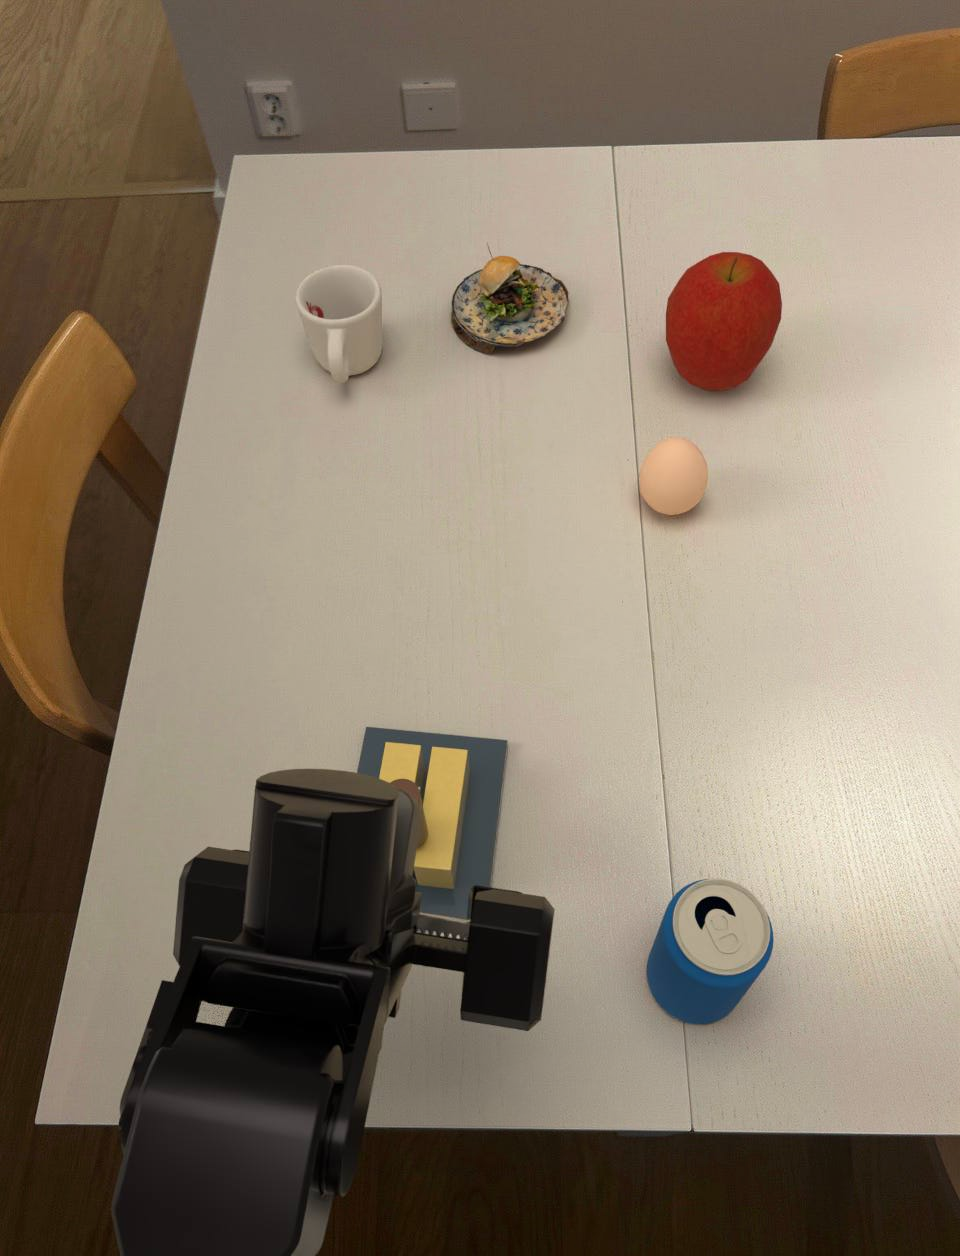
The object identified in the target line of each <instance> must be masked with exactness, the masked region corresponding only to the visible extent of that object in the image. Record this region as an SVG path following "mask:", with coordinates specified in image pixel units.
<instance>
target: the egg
mask: <svg viewBox="0 0 960 1256" xmlns="http://www.w3.org/2000/svg"><path fill="white" fill-rule="evenodd" d="M638 480H639V481H638V482H639V483H638V484H639V490H640V492H641V495H642V498H643V500H645V503H647V505H648V506H649V507H650V508H651V509H653V510H654V511H656V512H658V513H660V514H664V515H669V516H674V515H680V514H684V513H687V512H688V511H690V510H692V508H694V507H695V506H696V505H697V504H698V503H699V502H700V501H701V500H702V498H703V497H704V495H705V492H706V489H707V487H708V480H709V468H708V463H707V460H706V458H705V456H704V454H703V452H702V450H701V449H700V448H699V447H698V445H697V444H695V443H694V442H693V441H691V440H689V439H686V438H684V437H678V436H676V437H675V436H674V437H669V438H666V439H664V440H662V441H660V442H658V443H657V444H655V446H653V447H652V449H651V450H650V451H649V452H648V453H647V454H646V456H645V457H644V460H643V462H642V464H641V466H640V470H639V475H638Z"/></svg>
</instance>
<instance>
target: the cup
mask: <svg viewBox="0 0 960 1256" xmlns="http://www.w3.org/2000/svg"><path fill="white" fill-rule="evenodd" d="M295 306H296V309H297V312H298V314H299V317H300V320H301V322H302V326H303V328H304V331H305V334H306V336H307V339H308V342H309V344H310V347H311V350H312V352H313V355H314V358H315V359H316V361H317V362H318V364H319V365H320V366H321V367H322V368H323V369H324V370H326V371H327V372H329V373H330V375H331V378H332V380H333V382H336V383H346V382H347V381H348V379H349V377H350V376H356V375H359V374H362V373H365V372H366V371H368V370H370V369H371V368H372V367H374V365H376V363H377V362H378V361H379V359H380V357H381V354H382V350H383V293H382V287H381V284H380V281H379V280H378V278H376V276H375V275H373V274H372V273H371V272H370V271H368V270H367V269H365V268H362V267H359V266H356V265H350V264H335V265H334V264H333V265H329V266H325V267H322V268H319V269H317V270H315V271H313V272H312V273H310V274H309V275H306V277H305V278H304V279H302V281H301V282H300V283H299V285H298V287H297V288H296V292H295Z"/></svg>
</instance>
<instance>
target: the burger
mask: <svg viewBox="0 0 960 1256" xmlns="http://www.w3.org/2000/svg"><path fill="white" fill-rule="evenodd" d="M486 246H487V249H488V253H489V255H490V256H491V259H490V260H489V261H487V262H486V263H485V265H484V266H483V268H482V269H478V270H476V271H474V272H472V273H471V274H470V275H468V276H466V277H464V278H463V280H462V281H460V283H459V284H458V285H457V286H456V288H455V289H454V290H455V291H453V294H452V297H451V298H452V299H451V313H450V315H451V316H450V317H451V323H452V327H453V330H454V331H455V333H456V335H457V336H458V337H459V338H460V339H461V340H462V341H463V342H464V343H465V344H466V345H468V346H470V347H471V348H472V349H477V350H480V351H481V352H482V353H485V354H487V355H490V354H492V353H493V351H494V350H495V347H506V348H508V347H509V348H510V347H513V348H516V347H519V346H521V345H523V344H527V343H530V342H534V341H538V340H540V339H542V338H543V337H545V336H547V335H548V334H550V333H551V332H552V331H554V330H555V329H556V328H557V327H558V326H559V325H560V324H562V323H563V322H564V321H565V317H566V315H567V313H566V312H567V310H568V307H569V304H570V300H569V295H570V293H569V290H568V288H567V286H566V285H565V284H564V283H563V280H561V279H558V278H556V277H554V276H553V275H552V273H551V272H549V271H545V270H544V269H543V268H541V267H539V266H538V267H537V266H533V265H529V264H522V263H521V262H520V261H518V260H517V259H516V258H515V257H513V256H509V255H498V256H494V257H493V255H492V252H491V250H490V247H489V244H488V243H486Z"/></svg>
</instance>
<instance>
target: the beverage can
mask: <svg viewBox="0 0 960 1256" xmlns="http://www.w3.org/2000/svg"><path fill="white" fill-rule="evenodd" d="M772 925H773V924H772V922H771V918H770V916H769V914H768V912H767V910H766V909H765V907H764V905H763V903H762V902H761V901H760V900H759V899H758V897H757V896H756V895H755V894H754V893H753V892H752V891H751V890H749V889H748V888H747V887H745V886H744V885H743V884H739V883H737V882H736V881H732V880H729V879H725V878H704V879H700V880H696V881H693V882H690V883H688V884H686V885H685V886H684V887H682V888H680V890H678V891H677V892H676V893H675V894H674V896H673V897H672V898H671V899H670V901H669V902H668V904H667V907H666V909H665V911H664V914H663V917H662V920H661V921H660V925H659V927H658V930H657V932H656V936H655V938H654V941H653V943H652V946H651V949H650V951H649V954H648V957H647V961H646V980H647V984H648V987H649V990H650V993H651V994H652V996H653V998H654V1000H655V1001H656V1003H657V1004H658V1005H659V1006H660V1008H662V1010H663V1011H665V1012H666V1013H667V1014H668V1015H670V1016H671V1017H672V1018H675V1019H676V1020H678V1021H680V1022H683V1023H686V1024H690V1025H709V1024H714V1023H716V1022H719V1021H721V1020H723V1019H724V1018H726V1017H727V1016H728V1015H730V1014H731V1013H732V1012H733V1011H734V1010H735V1008H736V1007H737V1005H738V1004H739V1003H740V1002H741V1000H742V999H743V998H744V996H745V995H746V994H747V992H748V991H749V989H750V988H751V987H752V985H753V984H754V983H755V981H756V980H757V979H758V978H759V976H760V975H761V974H762V973H763V971H764V969H765V968H766V967H767V965H768V963H769V961H770V959H771V956H772V952H773V948H774V930H773V926H772Z"/></svg>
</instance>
